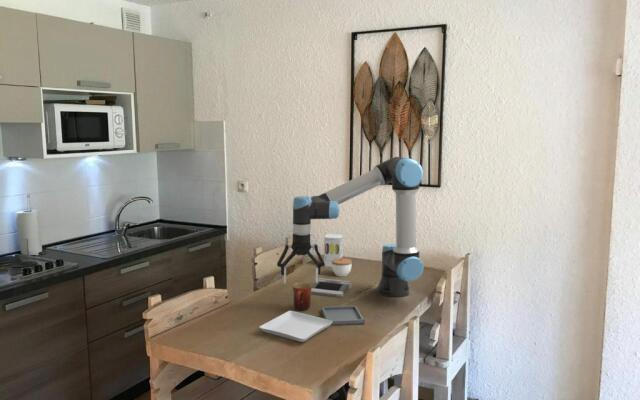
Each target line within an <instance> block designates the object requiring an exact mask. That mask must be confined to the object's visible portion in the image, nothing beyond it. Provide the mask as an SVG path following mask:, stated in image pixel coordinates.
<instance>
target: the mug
mask: <svg viewBox="0 0 640 400" xmlns="http://www.w3.org/2000/svg"><path fill="white" fill-rule="evenodd" d="M312 284H313V283H312ZM312 284H311V283H309V282H296V283H293V284H292V285H291V287H292V290H293V307H294V309H295V310H297V311H300V312H301V311H302V312H303V311H304V312H305V311H308V310H309V309H310V308H311V303H312V302H311V299H312V297H311V289H312Z"/></svg>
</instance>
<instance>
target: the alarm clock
mask: <svg viewBox="0 0 640 400" xmlns="http://www.w3.org/2000/svg"><path fill="white" fill-rule="evenodd" d="M351 288H352V281H348V280H338V279H330V278H329V279H328V278H321V277H319V278H318V283H316V282H315V281H314V282H313V283H312V289H311V294H312V295H316V296H317V295H318V296H326V297H337V298H342V297H344V294H345V293H346V292H347V290H350V289H351Z"/></svg>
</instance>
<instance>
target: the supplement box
mask: <svg viewBox="0 0 640 400" xmlns="http://www.w3.org/2000/svg"><path fill="white" fill-rule="evenodd" d="M343 235H344V234H338V233H337V234H336V233H326V235H325V236H324V237H323V238H324V240H323V241H324V242H323V243H324V244H323V245H324V246H323V261H324V263H325V266H324V267H329V268H332V262H331V261H332V260H333V259H336V258H341V257H343Z"/></svg>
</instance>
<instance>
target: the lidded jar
mask: <svg viewBox="0 0 640 400" xmlns="http://www.w3.org/2000/svg"><path fill="white" fill-rule="evenodd" d="M331 262H332V267H331V271H332V272H333V274H335V276H337V277H347V276H348V275H349V274H350V272H351V270H352V265H353V264H352V263H353V260H352V259H350V258H344V257H343V256H342V257H341V258H336V259H333V260H332V261H331Z"/></svg>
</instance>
